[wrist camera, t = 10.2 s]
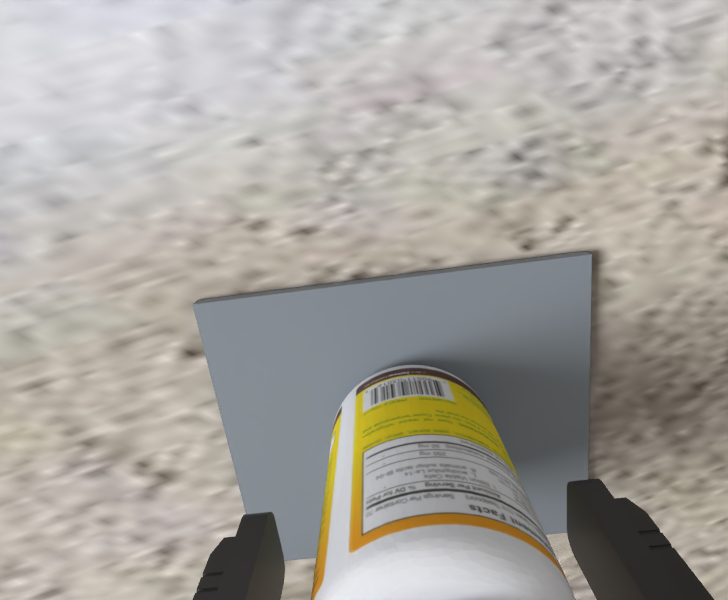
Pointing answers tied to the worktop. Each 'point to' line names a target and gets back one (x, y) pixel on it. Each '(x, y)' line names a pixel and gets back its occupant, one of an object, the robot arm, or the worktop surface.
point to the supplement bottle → (427, 500)
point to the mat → (396, 348)
